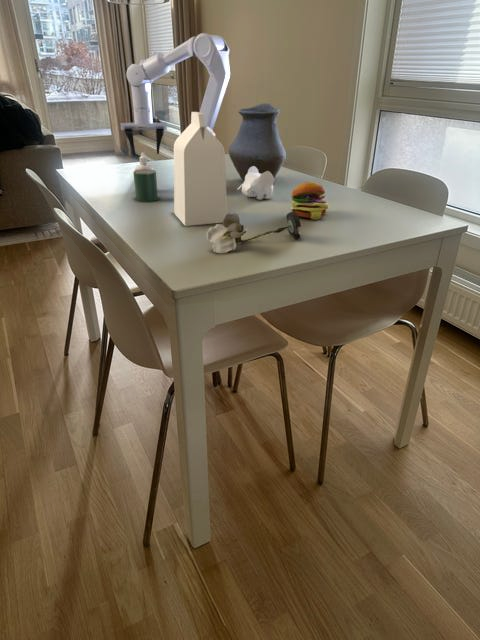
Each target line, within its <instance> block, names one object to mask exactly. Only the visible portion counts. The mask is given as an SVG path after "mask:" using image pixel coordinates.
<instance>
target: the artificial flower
mask: <svg viewBox="0 0 480 640" xmlns="http://www.w3.org/2000/svg"><path fill="white" fill-rule="evenodd" d="M285 218H286V221H287V226H283V227H278V229H274V230H270V231H266V232H264V233H260V234H257V235H255V236H252V237H251V238H247V239H242V236H244V235H245V234H246V233H247V231H248V229H249V227H246V228H245V229H244V225H243V224H241V222H240V221H241V220H240V216H239V214H237V213H231V214H230V213H227V214H226V215H225V218H224V220H223V222H222V223H215V225H214V226H210V227H209V228H208V230H207V231H206V240H207V241H208V242H209V243H213V244H212V249H213V252H214V253H217V254H227V253H228V252H229V251H235V250H236V248H237V244H238V243H239V244H240V243H242V244H243V243H246V242H248V241H252V240H255V239H257V238H260V237H262V236H266V235H269V234H273V233H274V234H276V233H277V234H279V233H282V232H283V231H285V230H287V232H288V234H289V236H290V237H292V238H294V239H297V240H298V239H300V238H301V237H302V234H301V233H299V228H301V227H302V224H301V220H300V216H298V215H297V214H296V212H294V211H292V210H291V212H290V211H289V212H288V213H286V217H285Z"/></svg>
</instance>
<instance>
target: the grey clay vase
mask: <svg viewBox="0 0 480 640" xmlns="http://www.w3.org/2000/svg"><path fill="white" fill-rule="evenodd" d="M238 113H239V115H240V116H241V117H242V120H241V123H240V126H239V128H238V132H237V133H236V136H235V138H234V139H233V140H232V142H231V143H230V144H229V147H228V156H229V159H230V160H231V162H232V164H233V166H234V169H235V170H236V172H237V174H238V175H239V177H240V179H241V180H242V182H244V181H245V176H246V174H247V173H248V170H249V168H250V167H252V166H255V167H256V168H257V169H258V172H259V173H260V174H262V173H264V172H266V171H269V172H270V173H271V174H272V175H273V177H274V179H275V180H276V177H277V175H278V174H279V172H280V170H281V168H282V166H283V164H284V162H285V161H286V158H287V152H286V149H285V147H284V145H283V141H282V140H281V137H280V133H279V128H278V124H277V123H278V122H277V120H278V116H279V115H280V113H281V110H280V109H279V108H275V107H274V106H273V104H271V103H260V104H257V105H254V106H251V107H246V108H240V109H239V110H238Z"/></svg>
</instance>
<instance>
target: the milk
mask: <svg viewBox="0 0 480 640" xmlns="http://www.w3.org/2000/svg"><path fill="white" fill-rule="evenodd" d="M199 112H200V111H199ZM199 112H198V111H191V114H190V115H191V117H190V124H189V125H187V127H186V128H185V129H184V130H183V131H182V132H181V133H180V135H179V136H178V137H177V138H176V140H175V141H174V144H173V207H174V208H173V212H174V213H173V214H174V215H175V216H176V217H177V218H178V220H179V221H180V222H181V223H182V224H183V225H184V226H185V227H189V226H191V227H192V226H201V225H210V224H223V220H224V218H225V215H226V214H228V203H227V201H228V200H227V180H226V179H227V173H226V152H225V147H224V145H223V144H222V142H221V141H220V140H219V139H218V138H217V137H216V136H217V134H216V133H215V132H214V130H213V131H212V130H211V129H210V128H209V127H207V128H206V127H205V120H204V114H202V113H199Z"/></svg>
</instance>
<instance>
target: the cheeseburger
mask: <svg viewBox="0 0 480 640" xmlns="http://www.w3.org/2000/svg"><path fill="white" fill-rule="evenodd" d="M325 193H326V190H325V188H324V185H322V184H320V183H317V182H314V181H309V182H303V183H300V184H299V185H298V186H297V187H296V188H295V189H293V190H292V193H291V198H292V200H293V201H292V203H291V207H290V208H291V209H290V210H291V212H292V211H294V212H296V214H297V215H298V217H299V218H300V217H301V218H306V219H307V218H308V219H310V220H314V221H317V220H320V219H321V218H322V217H324V216H325V215H326V214H327V210H329V203H328V202H327V200H325V197H326V195H324V194H325Z"/></svg>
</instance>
